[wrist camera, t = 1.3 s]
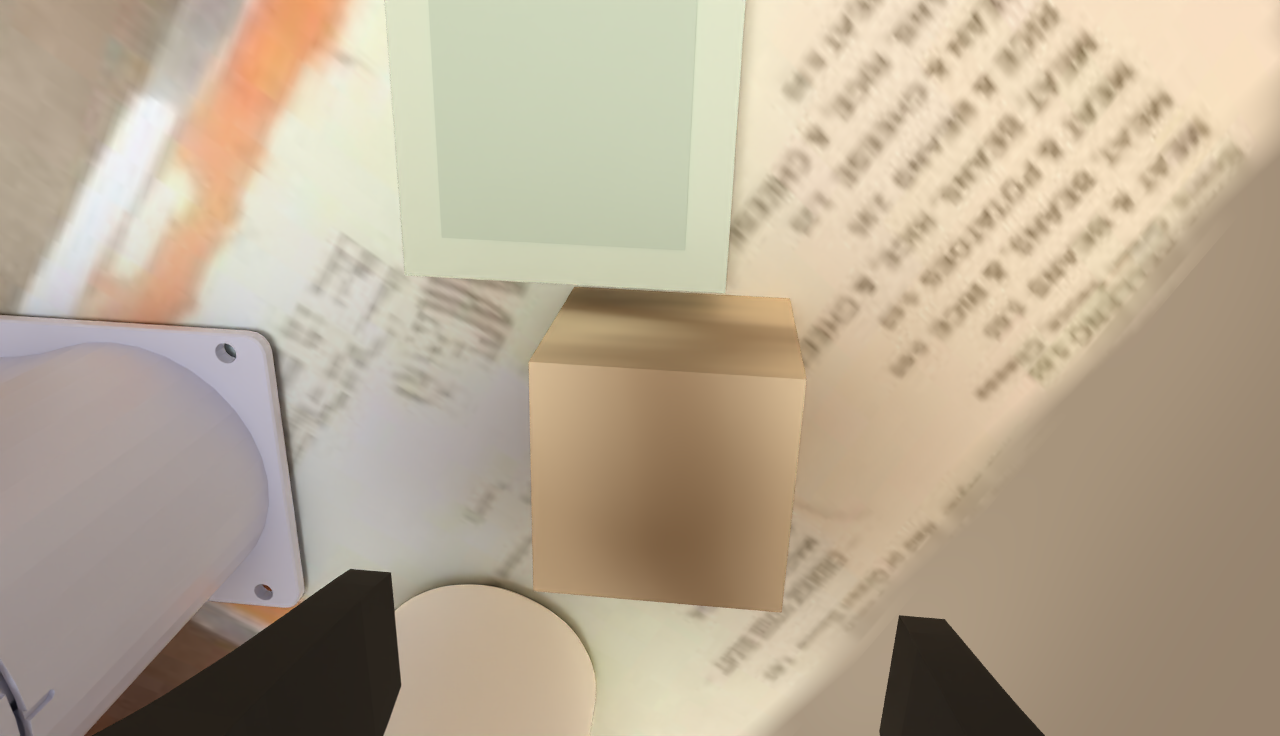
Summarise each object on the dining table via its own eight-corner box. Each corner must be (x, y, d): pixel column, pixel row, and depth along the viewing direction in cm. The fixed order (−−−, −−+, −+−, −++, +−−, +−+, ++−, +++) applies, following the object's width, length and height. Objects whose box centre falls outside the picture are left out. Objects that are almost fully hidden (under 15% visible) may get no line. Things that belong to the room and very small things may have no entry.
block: (574, 473, 22) (533, 590, 18) (575, 285, 20) (528, 361, 16) (771, 487, 22) (781, 612, 17) (789, 297, 20) (806, 379, 15)
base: (427, 258, 20) (403, 276, 19) (405, -75, 18) (376, -84, 16) (726, 274, 20) (725, 294, 18) (749, -67, 17) (750, -76, 16)
